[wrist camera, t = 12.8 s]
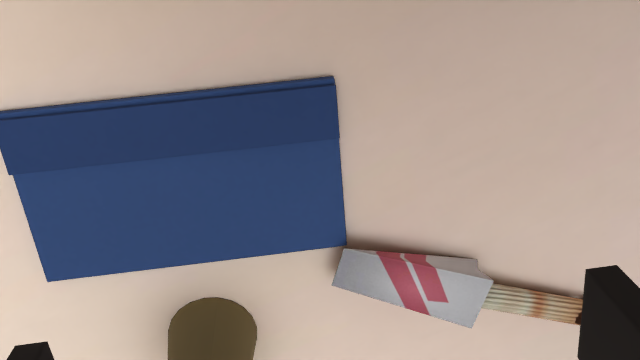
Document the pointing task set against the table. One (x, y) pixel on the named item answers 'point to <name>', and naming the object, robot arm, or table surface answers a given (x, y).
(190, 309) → the olive pawn figure
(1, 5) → the table surface
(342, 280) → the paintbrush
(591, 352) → the robot arm
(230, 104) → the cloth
